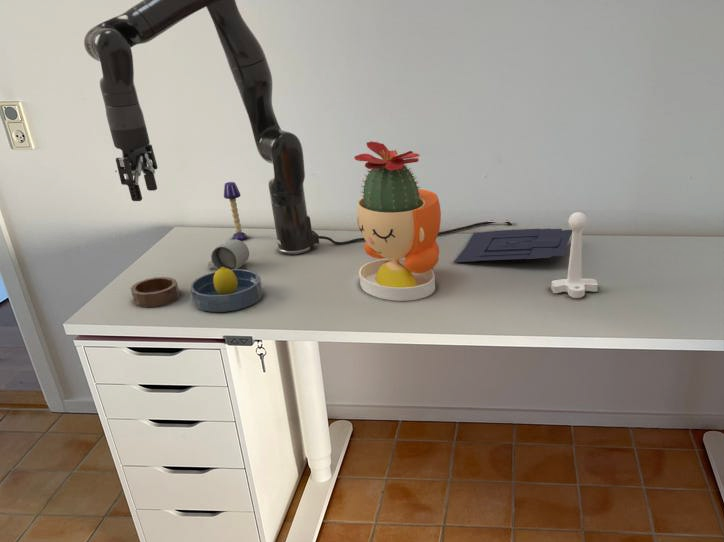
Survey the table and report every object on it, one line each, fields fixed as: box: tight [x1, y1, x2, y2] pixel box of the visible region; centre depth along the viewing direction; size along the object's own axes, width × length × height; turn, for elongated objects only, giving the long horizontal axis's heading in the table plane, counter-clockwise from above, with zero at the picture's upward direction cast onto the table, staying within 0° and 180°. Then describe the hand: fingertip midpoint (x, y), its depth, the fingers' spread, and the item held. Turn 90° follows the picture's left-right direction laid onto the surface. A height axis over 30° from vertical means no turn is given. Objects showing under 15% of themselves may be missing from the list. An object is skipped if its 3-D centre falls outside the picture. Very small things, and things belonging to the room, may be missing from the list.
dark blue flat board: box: [453, 228, 572, 263], centre depth 200 cm, size 24×30×4 cm
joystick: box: [550, 211, 599, 299], centre depth 171 cm, size 11×8×20 cm
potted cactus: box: [354, 140, 442, 302], centre depth 175 cm, size 22×22×35 cm
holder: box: [130, 276, 181, 308], centre depth 175 cm, size 10×10×4 cm
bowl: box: [189, 268, 264, 313], centre depth 174 cm, size 16×16×4 cm
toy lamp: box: [223, 181, 248, 241], centre depth 209 cm, size 5×5×17 cm
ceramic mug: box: [207, 238, 250, 271], centre depth 191 cm, size 11×8×8 cm
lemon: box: [213, 267, 238, 295], centre depth 173 cm, size 6×6×8 cm
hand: (145, 195), depth 169 cm, fingers open, 8 cm apart
